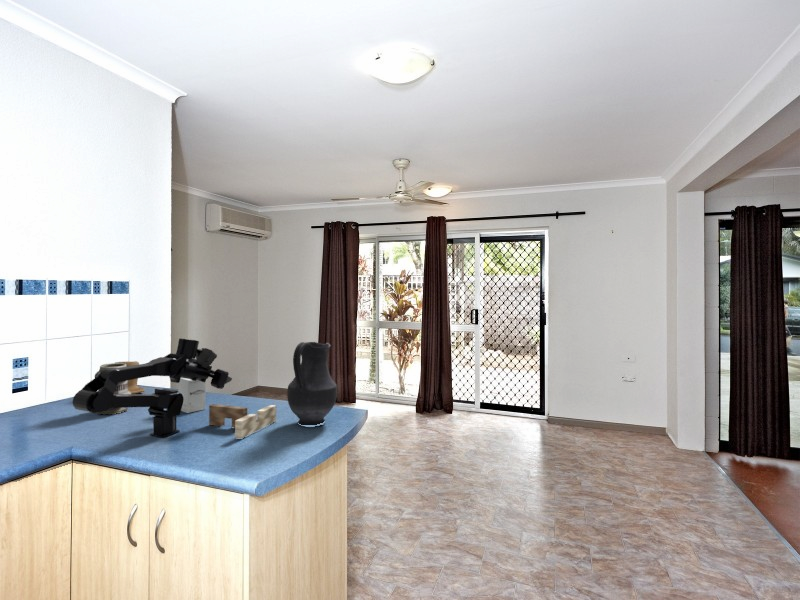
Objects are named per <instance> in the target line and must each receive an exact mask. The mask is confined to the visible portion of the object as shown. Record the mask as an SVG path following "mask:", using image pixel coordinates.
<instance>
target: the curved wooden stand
mask: <svg viewBox="0 0 800 600" xmlns="http://www.w3.org/2000/svg"><path fill="white" fill-rule="evenodd" d="M114 363H124V364H126V367H127V366H133V365H139V364H140V362H139V361H136V360H134V361H129V360H128V361H116V362H114ZM138 381H139V378H137V379H132V380H128V391H130V393H131V394H140V393H143V392H145V391H146V389H145V388H144V387H140V386H138Z"/></svg>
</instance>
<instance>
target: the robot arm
mask: <svg viewBox="0 0 800 600" xmlns="http://www.w3.org/2000/svg"><path fill="white" fill-rule="evenodd" d="M199 344H200V341H199V340H195V339H186V338H179V339H178V343H177V348H176V353H172V352H170V353H168V354H166V355H165V356H163V357H161V356H160V357H158V358H154V359H152V360H149V361H148V362H146V363H141V364H140V363H139V365H133V366H127V367H120V368H114V369H105V370H103V371H102V372H101V373H100V374H99V375H98V376H97V377H96V378H95V377H94V378H93V379H92V380H90V381H88V382H87V383H86V384H85V385H84V386H83V387H82V388H81V389H80V390H78V392H76V393H75V394H74V396H73V398H72V406H73V407H74V409H75V410H77V411H83V412H88V413H93V414H96V413H97V414H98V412H103V411H108V410H110V409H112V408H148V409H147V411H148V414H149V416H153V418H152V419H153V420H152V422H153V425H152V427H153V428H152V429H153V432H151V433H149V436H151V435H153V437H159V436H160V437H161V438H168V437H169V436H172V435H175V434H176V433H177V434H178V433H179V432H180V429H177V416H180V415H181V412H182V411H181V408H182V405H183V401H184V398H183V395H182V394H181V393H179V390H178V389H177V390H176V389H175V390H174V389H170V388H162V389H160V388H154V392H153V393H151V394H150V393H149V394H148V393H144V394H143V393H141V394H140V393H136V394H114V392H115V389H116V386H117V384H118V383H119V382H121V381H127V380H132V379H137V378H138V379H141V378H142V379H143V378H147V377H153V376H154V377H155V376H156V377H169V378H168V379H169V381H170V382H171V383H177V384H179V382H180V378H186V379H191V380H193V381H196V380H199V381H202V382H205V381H207V380H208V379H209V378H211V380H210V385H211V387H213V388H216V389H219V390H222V389H224V387H225V386H226V385H227V384H229V383H230V382H232V380H233V378H232V377H230V376H229V374H230V373H229V372H228V371H226V370H223V369H220V368H217V369H216V370H213V369H212V368H213V366H212V364H213V362H214V361H215V360H216V359H217V358H218V354H216V352H214V350H212V349H209V348H207V347H204V348H203V347H202V348H201V349H200V348H199ZM103 386H104V387H103ZM102 387H103V389H102V390H101V391H100V392H98V390H99V389H100V388H102Z"/></svg>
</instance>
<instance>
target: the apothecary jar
mask: <svg viewBox="0 0 800 600" xmlns="http://www.w3.org/2000/svg"><path fill="white" fill-rule="evenodd" d="M120 367H126V364H124V363H115V362H112V363H111V362H110V363H104V364H100V365H99V370H98V371H96V372H95V374H94V378H96V377H97V376H98V375H99V374H100V373H101V372H102V371H103V370H105V369H114V368H120ZM103 387H104V386H103ZM103 387H102V388H100V389H99V390H98V391H97V392H100V391H101V390H102V389H103ZM114 394H131V393H130V391H128V380H127V381H121V382H119V383H118V384H117V386H116V389H115V392H114ZM127 410H128V411H129V407H126V408H112V409H110V410H108V411H103V412H98V413H97V414H98V415H100V414H114V415H117V414H116V413H120V414H122V413H121V412H123V411H126V412H128V411H127ZM123 413H124V412H123Z"/></svg>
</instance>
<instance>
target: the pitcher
mask: <svg viewBox="0 0 800 600" xmlns="http://www.w3.org/2000/svg"><path fill="white" fill-rule="evenodd" d="M330 348H331V344H330V343H329V342H326V343H320V342H318V341H317V342H316V341H308V342H307V341H306V342H304V341H303V342H302V341H301V342H299V343H298V344H297V345H296V347H295V349H294V352H293V357H292V362H293V370H294V376H295V377H294V378H293V379H292V380H291V381H290V383H289V384H288V385H287V392H286V393H287V394H286V395H287V404H288V407H289V408H290V410H291V412H292V413H293V414H294V416H295V415H296V417H297V418H298V419H299V420H298V421H297V424H298V423H299V424H301V425H317V424H320V423H323V422H324V421H326V419H325V417H326V416H327V415H328V414H329V413H330V412H331V411H332V409H333V408H334V406H335V404H336V402H337V397H338V385H337V383H336V382H335V381H334V380H333V379H332V378H333V377H332V376H331V373H330V371H329V366H328V352H329V349H330Z"/></svg>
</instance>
